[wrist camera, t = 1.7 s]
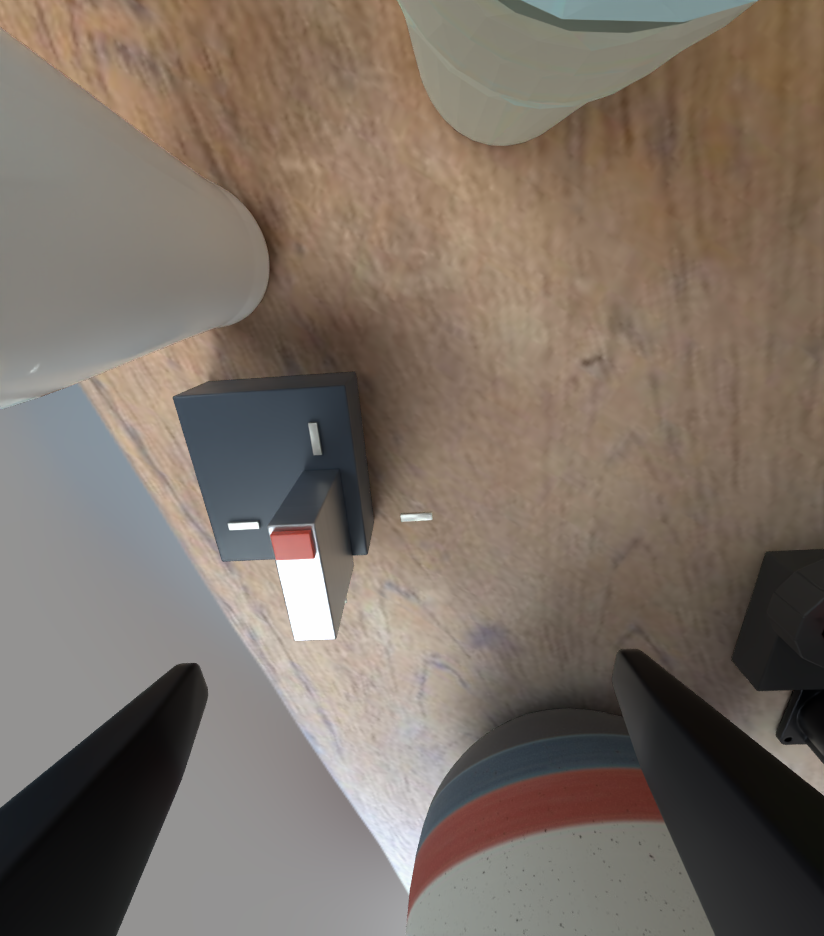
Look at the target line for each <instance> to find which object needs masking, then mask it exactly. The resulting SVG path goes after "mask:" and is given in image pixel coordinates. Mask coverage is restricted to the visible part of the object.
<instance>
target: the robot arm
mask: <svg viewBox="0 0 824 936" xmlns="http://www.w3.org/2000/svg"><path fill="white" fill-rule="evenodd" d="M612 683H613V688H614V691H615V694H616V697H617V700H618V703H619V706H620V709H621V712H622V715H623V718H624V721H625V724H626V727H627V730H628V733H629V736H630V739H631V742H632V744H633V747H634V750H635V753H636V756H637V759H638V762H639V764H640V767H641V770H642V772H643V774H644V777H645V779H646V782H647V784H648V786H649V788H650V791H651V793H652V795H653V797H654V800H655V802H656V804H657V806H658V809H659V811H660V813H661V815H662V818H663V820H664V822H665V824H666V827H667V829H668V831H669V833H670V835H671V838H672V840H673V842H674V844H675V847H676V849H677V851H678V853H679V856H680V858H681V860H682V862H683V865H684V867H685V869H686V871H687V874H688V876H689V878H690V880H691V883H692V885H693V887H694V889H695V892H696V894H697V896H698V898H699V901H700V903H701V905H702V907H703V910H704V912H705V914H706V916H707V918H708V921H709V923H710V925H711V927H712V930H713V932H714V934H715V936H824V796H823V795H822V794H821V793H820V792H818V791H817V790H816V789H815V788H813V787H812V786H811V785H810V784H808V783H807V782H806V781H805V780H803V779H802V778H801V777H800V776H798V775H797V774H796V773H794V772H793V771H792V770H791V769H789V768H788V767H787V766H786V765H784V764H783V763H782V762H781V761H779V760H778V759H777V758H776V757H774V756H773V755H772V754H771V753H769V752H768V751H767V750H766V749H764V748H763V747H762V746H761V745H759V744H758V743H757V742H755V741H754V740H753V739H752V738H750V737H749V736H748V735H747V734H745V733H744V732H743V731H742V730H740V729H739V728H738V727H737V726H735V725H734V724H733V723H732V722H730V721H729V720H728V719H727V718H725V717H724V716H723V715H722V714H720V713H719V712H718V711H716V710H715V709H714V708H713V707H711V706H710V705H709V704H708V703H706V702H705V701H704V700H703V699H701V698H700V697H699V696H698V695H696V694H695V693H694V692H693V691H691V690H690V689H689V688H688V687H686V686H685V685H684V684H683V683H681V682H680V681H679V680H677V679H676V678H675V677H674V676H672V675H671V674H670V673H669V672H667V671H666V670H665V669H664V668H662V667H661V666H660V665H659V664H657V663H656V662H655V661H654V660H652V659H651V658H650V657H649V656H647V655H646V654H645V653H644V652H642V651H640V650H638V649H621V650H619V651H618V652H617V654H616V659H615V664H614V670H613V675H612ZM207 698H208V688H207V685H206V682H205V679H204V677H203V674H202V671H201V669H200V666H199V665H198V664H197V663H182V664H178V665H176V666H174V667H173V668H172V669H171V670H169V671H168V672H167V673H166V674H164V675H163V676H162V677H161V678H159V679H158V680H157V681H156V682H155V683H153V684H152V685H151V686H150V687H149V688H147V689H146V690H145V691H144V692H142V693H141V694H140V695H139V696H137V697H136V698H135V699H134V700H132V701H131V702H130V703H129V704H127V705H126V706H125V707H124V708H123V709H122V710H120V711H119V712H118V713H116V714H115V715H114V716H113V717H112V718H110V719H109V720H108V721H107V722H105V723H104V724H103V725H102V726H100V727H99V728H98V729H97V730H96V731H94V732H93V733H92V734H91V735H90V736H88V737H87V738H86V739H84V740H83V741H82V742H81V743H80V744H78V745H77V746H76V747H75V748H73V749H72V750H71V751H70V752H68V754H66V755H65V756H64V757H62V758H61V759H60V760H59V761H57V762H56V763H55V764H54V765H53V766H52V767H50V768H49V769H48V770H47V771H45V772H44V773H43V774H41V775H40V776H39V777H38V778H37V779H35V780H34V781H33V782H32V783H30V784H29V785H28V786H27V787H26V788H24V789H23V790H22V791H21V792H19V793H18V794H17V795H16V796H14V797H13V798H12V799H11V800H10V801H8V802H7V803H6V804H5V805H4V806H2V807H1V808H0V936H116V935H117V933H118V930H119V928H120V925H121V923H122V921H123V918H124V916H125V914H126V911H127V909H128V906H129V904H130V902H131V899H132V897H133V895H134V892H135V890H136V887H137V885H138V883H139V880H140V878H141V875H142V873H143V871H144V868H145V866H146V863H147V861H148V859H149V856H150V854H151V852H152V849H153V847H154V845H155V842H156V840H157V837H158V835H159V833H160V830H161V828H162V826H163V823H164V821H165V818H166V816H167V814H168V811H169V809H170V806H171V804H172V802H173V799H174V797H175V794H176V792H177V790H178V787H179V785H180V782H181V780H182V777H183V774H184V771H185V768H186V765H187V762H188V759H189V756H190V753H191V749H192V747H193V743H194V740H195V737H196V734H197V730H198V728H199V725H200V721H201V718H202V715H203V712H204V709H205V706H206V703H207ZM776 737H777V738H778V740H779V741H780V742H781V743H782V744H785V745H792V744H807V745H808V746H809V747H810V748H811V750H812V751H813V752H814V753H815V754H816V756H817V757H818V758H819V759H820V760H821V761H822V763H823V764H824V689H809V690H794V692H793V694H792V697H791V699H790V701H789V704H788V706H787V708H786V711H785V713H784V716H783V718H782V720H781V723H780V725H779V728H778V730H777V732H776Z"/></svg>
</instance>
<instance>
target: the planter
mask: <svg viewBox="0 0 824 936" xmlns="http://www.w3.org/2000/svg"><path fill="white" fill-rule="evenodd" d="M406 936H715V934H714V932H713V930H712V927H711V925H710V923H709V921H708V918H707V916H706V914H705V912H704V910H703V907H702V905H701V903H700V901H699V898H698V896H697V894H696V892H695V889H694V887H693V885H692V883H691V880H690V878H689V876H688V874H687V871H686V869H685V867H684V865H683V862H682V860H681V858H680V856H679V853H678V851H677V849H676V847H675V844H674V842H673V840H672V838H671V835H670V833H669V831H668V829H667V827H666V824H665V822H664V820H663V818H662V815H661V813H660V811H659V809H658V806H657V804H656V802H655V800H654V797H653V795H652V793H651V791H650V788H649V786H648V784H647V782H646V779H645V777H644V774H643V772H642V770H641V767H640V764H639V762H638V759H637V756H636V753H635V750H634V747H633V744H632V742H631V739H630V736H629V733H628V730H627V727H626V724H625V721H624V718H623V717H620V716H617V715H613V714H609V713H605V712H600V711H593V710H585V709H551V710H544V711H539V712H534V713H530V714H527V715H523V716H521V717H518V718H515V719H513V720H511V721H508V722H506V723H504V724H502V725H501V726H499V727H497V728H495V729H494V730H492V731H490V732H489V733H487V734H486V735H485V736H483V737H482V738H481V739H480V740H478V741H477V742H476V743H475V744H473V745H472V746H471V747H470V748H469V749H468V750H467V751H466V752H465V753H464V754H463V755H462V756H461V758H460V759H459V760H458V761H457V762H456V763H455V764H454V766H453V767H452V768H451V770H450V771H449V772H448V774H447V775H446V777H445V778H444V780H443V781H442V783H441V784H440V786H439V788H438V790H437V792H436V794H435V796H434V798H433V800H432V802H431V805H430V807H429V810H428V813H427V816H426V819H425V822H424V825H423V828H422V832H421V836H420V840H419V844H418V848H417V853H416V858H415V864H414V870H413V875H412V881H411V887H410V895H409V905H408V915H407V925H406Z"/></svg>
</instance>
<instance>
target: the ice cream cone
mask: <svg viewBox="0 0 824 936" xmlns="http://www.w3.org/2000/svg"><path fill="white" fill-rule="evenodd" d="M397 1H398V3H399V5H400V7H401V9H402V11H403V13H404V15H405V19H406V22H407V26H408V30H409V34H410V38H411V42H412V46H413V50H414V53H415V57H416V61H417V65H418V68H419V72H420V76H421V79H422V83H423V85H424V87H425V89H426V91H427V93H428V96H429V98H430V100H431V102H432V103H433V105H434V106H435V108H436V109H437V110H438V112H439V113H440V115H441V116H442V117H443V119H444V120H446V121H447V122H448V123H449V124H450V125H451V126H452V127H453V128H454V129H455V130H456V131H458V132H459V133H461V134H463V135H464V136H466V137H468V138H470V139H471V140H474V141H477V142H480V143H484V144H487V145H498V146H508V145H513V144H519V143H524V142H526V141H528V140H531V139H533V138H535V137H537V136H540V135H542V134H543V133H544V132H546V131H547V130H549V129H550V128H552V127H553V126H554V125H556V124H557V123H559V122H560V121H562V120H563V119H564V118H566V117H567V116H569V115H570V114H572V113H573V112H574V111H576V110H577V109H579V108H580V107H582V106H583V105H584V104H586V103H587V102H590V101H593V100H597V99H600V98H603V97H606V96H609V95H612V94H614V93H616V92H617V91H619V90H621V89H623V88H624V87H626V86H628V85H630V84H632V83H633V82H635V81H637V80H639V79H641V78H643V77H645V76H647V75H648V74H650V73H651V72H653V71H654V70H655V69H657V68H658V67H660V66H661V65H663V64H664V63H665V62H667V61H668V60H670V59H671V58H672V57H674V56H675V55H677V54H678V53H680V52H681V51H683V50H684V49H686V48H688V47H690V46H691V45H693V44H695V43H697V42H698V41H700V40H702V39H704V38H705V37H707V36H709V35H711V34H712V33H714V32H716V31H718V30H719V29H721V28H723V27H725V26H726V25H727V24H729V23H730V22H731V21H732V20H734V19H735V18H736V17H738V16H739V15H740V14H741V13H743V12H744V11H745V10H746V9H748V8H749V7H750V6H752V5H753V4H754V3H755V2H757V1H758V0H397Z"/></svg>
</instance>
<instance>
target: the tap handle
mask: <svg viewBox="0 0 824 936" xmlns="http://www.w3.org/2000/svg"><path fill="white" fill-rule="evenodd" d="M267 528H268V532H269V536H270V541H271V545H272V549H273V553H274V557H275V561H276V565H277V570H278V574H279V578H280V582H281V586H282V590H283V595H284V599H285V603H286V607H287V611H288V615H289V620H290V624H291V628H292V632H293V636H294V640H295V641H303V640H330V639H336V638H337V634H338V630H339V625H340V621H341V617H342V613H343V609H344V605H345V601H346V596H347V592H348V588H349V584H350V580H351V576H352V572H353V567H354V562H353V556H352V549H351V543H350V536H349V529H348V523H347V516H346V509H345V503H344V496H343V490H342V483H341V476H340V470H339V469H333V470H315V471H303V472H302V473H301V475H300V476H299V478H298V479H297V481H296V483H295V484H294V486H293V487H292V489H291V490H290V492H289V493H288V495H287V496H286V498H285V500H284V501H283V503H282V504H281V506H280V507H279V509H278V510H277V512H276V513H275V515H274V516H273V518H272V520H271V521H270V523H269V524H268V526H267Z"/></svg>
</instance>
